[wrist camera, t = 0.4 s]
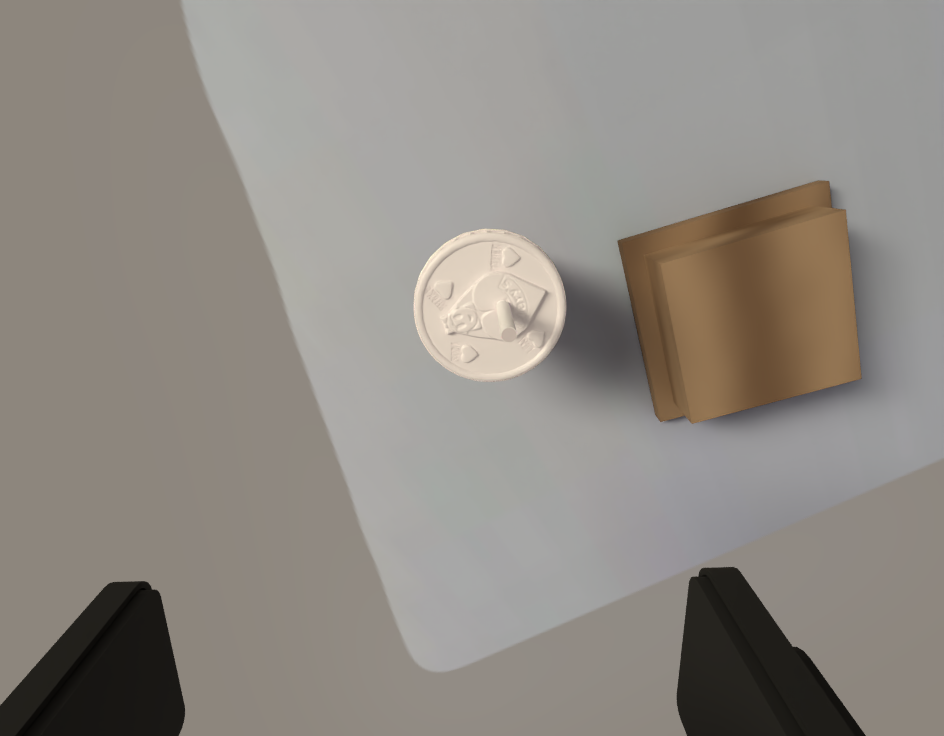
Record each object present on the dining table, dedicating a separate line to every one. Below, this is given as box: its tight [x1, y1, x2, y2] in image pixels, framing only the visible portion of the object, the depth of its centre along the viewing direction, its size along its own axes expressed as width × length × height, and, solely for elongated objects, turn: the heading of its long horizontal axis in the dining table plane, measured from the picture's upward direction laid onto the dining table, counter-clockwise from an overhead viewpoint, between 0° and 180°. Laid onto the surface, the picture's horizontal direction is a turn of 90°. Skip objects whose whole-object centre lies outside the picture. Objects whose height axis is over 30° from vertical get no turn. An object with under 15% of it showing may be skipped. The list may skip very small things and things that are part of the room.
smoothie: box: [414, 229, 566, 382], centre depth 27 cm, size 6×6×14 cm
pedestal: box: [618, 181, 861, 424], centre depth 32 cm, size 11×11×4 cm
